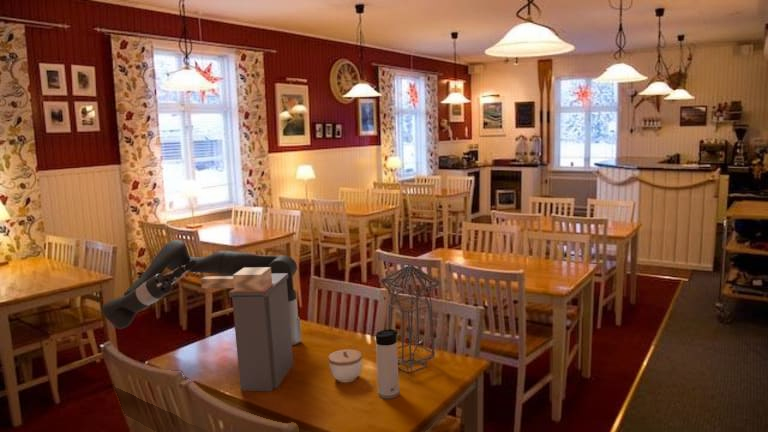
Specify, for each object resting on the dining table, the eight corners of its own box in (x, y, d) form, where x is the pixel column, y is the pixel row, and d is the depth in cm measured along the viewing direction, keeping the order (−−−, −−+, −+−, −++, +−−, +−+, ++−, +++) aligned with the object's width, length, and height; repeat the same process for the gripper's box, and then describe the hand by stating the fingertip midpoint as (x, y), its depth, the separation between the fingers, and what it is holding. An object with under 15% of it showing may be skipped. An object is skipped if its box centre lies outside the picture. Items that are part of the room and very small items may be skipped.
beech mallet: (197, 290, 180) (195, 275, 179) (209, 283, 188) (208, 268, 188) (262, 290, 177) (261, 274, 176) (272, 282, 185) (270, 267, 185)
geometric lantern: (415, 353, 205) (414, 257, 199) (444, 369, 192) (443, 266, 186) (378, 364, 196) (375, 264, 190) (405, 381, 183) (403, 274, 177)
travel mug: (398, 399, 171) (395, 335, 168) (376, 398, 172) (373, 334, 169) (402, 390, 177) (399, 327, 174) (380, 389, 178) (377, 327, 175)
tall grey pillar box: (237, 390, 182) (228, 291, 177) (261, 362, 204) (254, 273, 199) (274, 391, 181) (266, 291, 175) (294, 362, 202) (288, 272, 197)
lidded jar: (337, 388, 180) (336, 360, 179) (324, 376, 190) (323, 349, 188) (368, 380, 185) (367, 352, 184) (354, 368, 194) (353, 342, 193)
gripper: (135, 286, 189) (173, 260, 186) (157, 275, 203) (193, 251, 200) (149, 305, 189) (187, 280, 186) (170, 292, 203) (205, 269, 200)
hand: (190, 265), depth 193 cm, fingers open, 8 cm apart
